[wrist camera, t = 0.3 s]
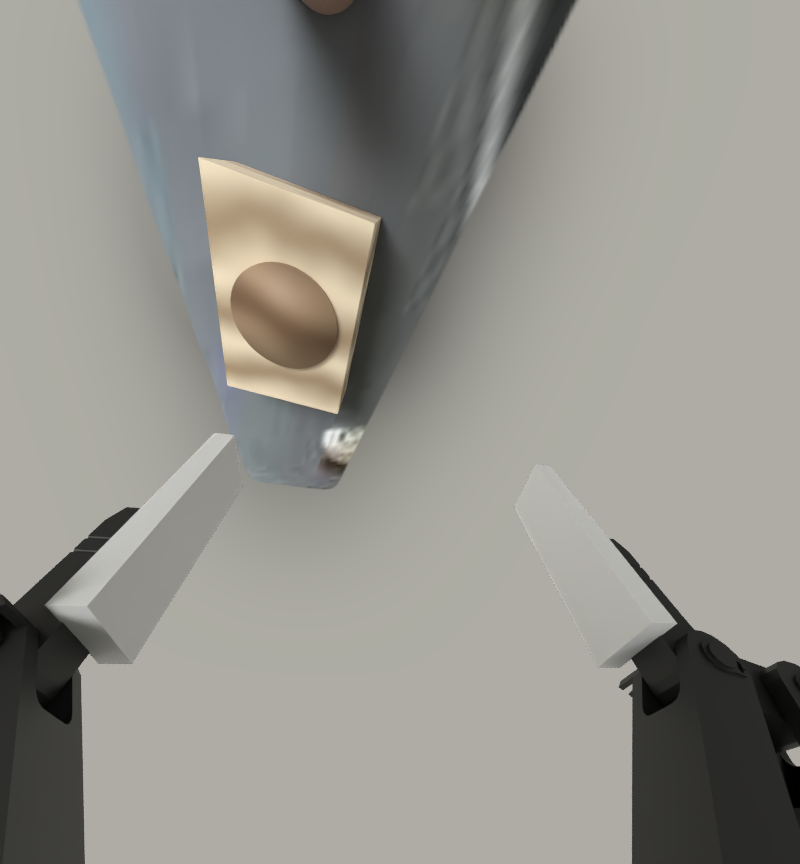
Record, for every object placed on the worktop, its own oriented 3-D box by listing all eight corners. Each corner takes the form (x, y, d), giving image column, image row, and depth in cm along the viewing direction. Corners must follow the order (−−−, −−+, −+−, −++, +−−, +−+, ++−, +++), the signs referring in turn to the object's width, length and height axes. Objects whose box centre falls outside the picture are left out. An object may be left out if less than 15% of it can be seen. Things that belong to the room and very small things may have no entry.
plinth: (235, 161, 24) (194, 156, 20) (381, 217, 26) (374, 224, 22) (248, 363, 37) (225, 387, 33) (345, 389, 39) (336, 416, 35)
